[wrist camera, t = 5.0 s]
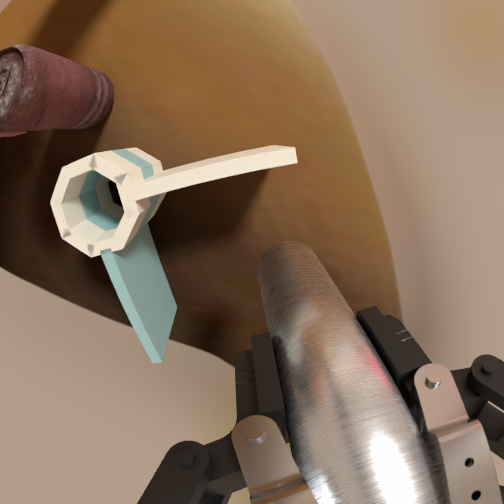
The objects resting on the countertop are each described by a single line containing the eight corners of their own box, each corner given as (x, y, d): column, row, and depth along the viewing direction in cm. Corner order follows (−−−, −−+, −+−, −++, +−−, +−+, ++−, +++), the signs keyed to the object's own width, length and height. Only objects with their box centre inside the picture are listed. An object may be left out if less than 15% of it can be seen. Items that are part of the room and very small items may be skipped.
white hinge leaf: (94, 163, 24) (43, 176, 16) (267, 114, 24) (285, 101, 15) (112, 226, 27) (71, 262, 18) (281, 185, 26) (305, 207, 18)
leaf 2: (94, 163, 24) (43, 176, 16) (155, 141, 24) (120, 143, 16) (146, 312, 31) (124, 365, 22) (202, 302, 31) (194, 358, 22)
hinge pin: (252, 248, 15) (321, 625, 1) (314, 234, 15) (502, 543, 1) (263, 301, 17) (320, 601, 2) (320, 288, 17) (442, 557, 2)
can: (69, 138, 23) (-28, 152, 10) (65, 84, 20) (-28, 69, 7) (118, 122, 23) (28, 117, 10) (113, 65, 20) (31, 24, 7)
